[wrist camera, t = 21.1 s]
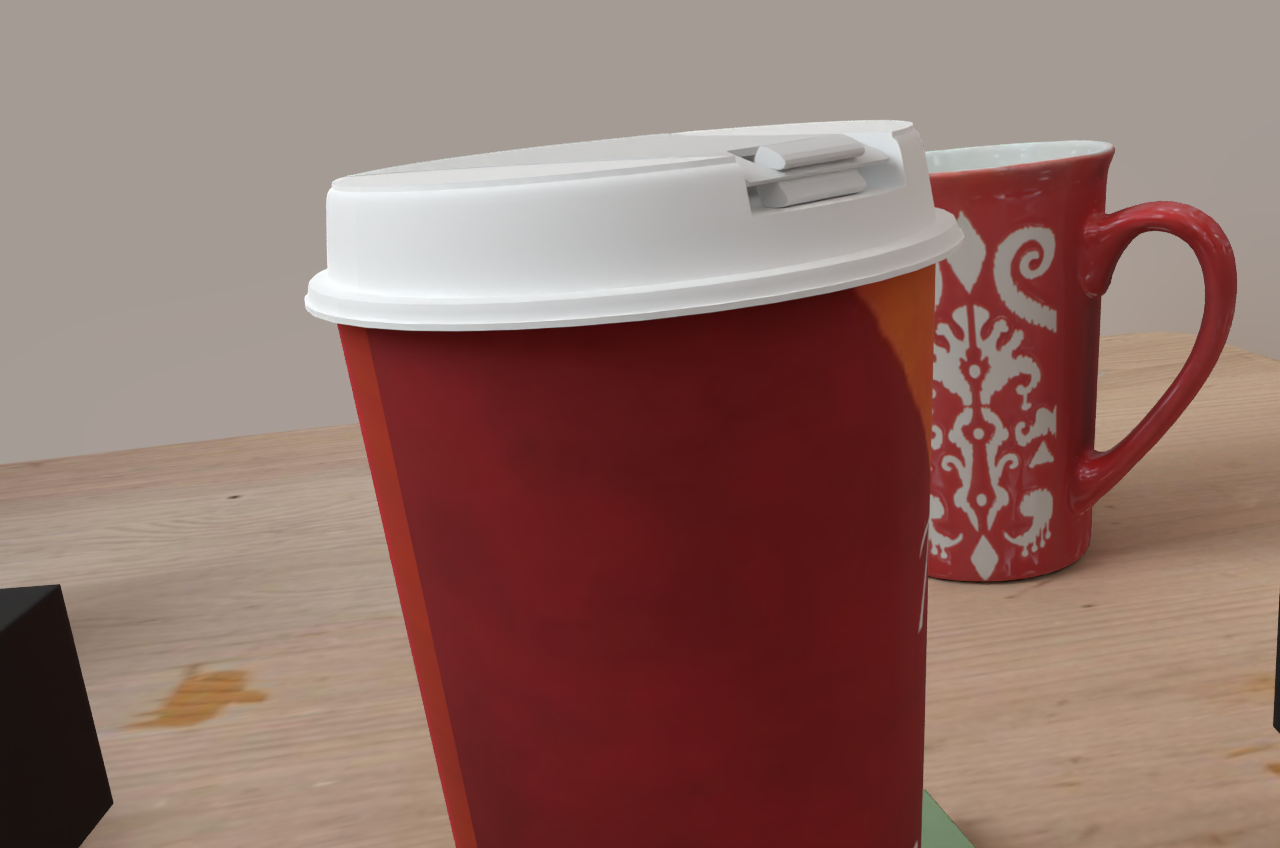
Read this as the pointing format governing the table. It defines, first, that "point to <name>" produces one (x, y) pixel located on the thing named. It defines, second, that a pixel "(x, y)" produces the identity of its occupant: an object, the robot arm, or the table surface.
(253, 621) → the table surface
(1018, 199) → the mug
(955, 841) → the cup mat
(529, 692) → the coffee cup
